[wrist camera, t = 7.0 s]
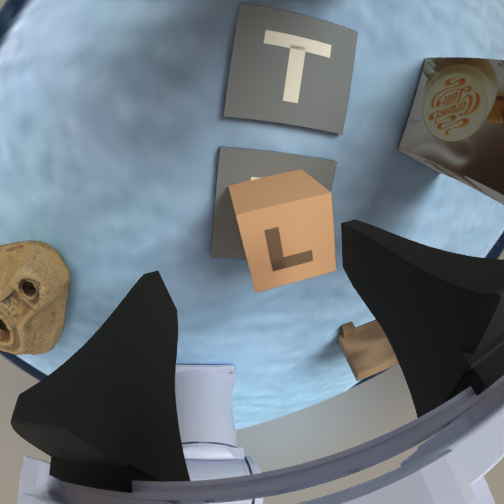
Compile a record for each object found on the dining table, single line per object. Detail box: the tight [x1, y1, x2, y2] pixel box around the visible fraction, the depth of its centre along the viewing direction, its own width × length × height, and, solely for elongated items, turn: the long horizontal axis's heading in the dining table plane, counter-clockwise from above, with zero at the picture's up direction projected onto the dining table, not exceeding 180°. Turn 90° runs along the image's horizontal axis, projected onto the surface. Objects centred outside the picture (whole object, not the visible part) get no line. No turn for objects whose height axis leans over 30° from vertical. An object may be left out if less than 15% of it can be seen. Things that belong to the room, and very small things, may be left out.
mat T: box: [223, 3, 358, 134], centre depth 15 cm, size 8×8×1 cm
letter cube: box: [229, 169, 336, 292], centre depth 17 cm, size 5×5×5 cm
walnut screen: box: [338, 320, 399, 381], centre depth 26 cm, size 11×4×6 cm, turn 103°
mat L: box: [211, 146, 337, 259], centre depth 20 cm, size 8×8×1 cm
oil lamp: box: [0, 241, 71, 355], centre depth 16 cm, size 11×15×8 cm
